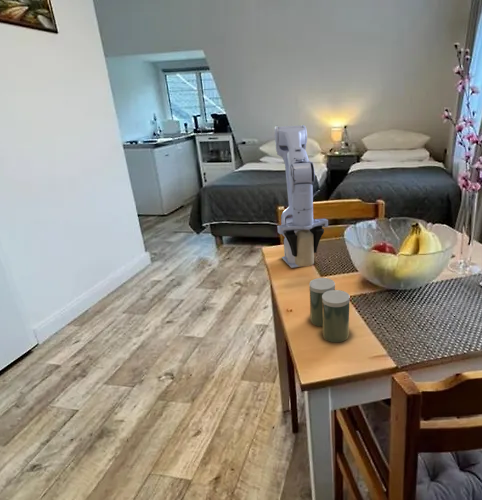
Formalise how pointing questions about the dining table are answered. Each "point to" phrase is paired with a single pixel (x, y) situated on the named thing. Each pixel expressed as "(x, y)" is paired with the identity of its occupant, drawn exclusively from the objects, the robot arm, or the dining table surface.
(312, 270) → the dining table surface
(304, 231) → the candle
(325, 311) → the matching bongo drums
